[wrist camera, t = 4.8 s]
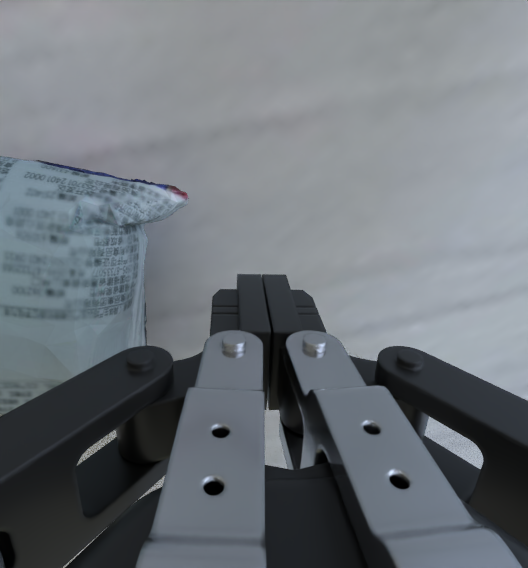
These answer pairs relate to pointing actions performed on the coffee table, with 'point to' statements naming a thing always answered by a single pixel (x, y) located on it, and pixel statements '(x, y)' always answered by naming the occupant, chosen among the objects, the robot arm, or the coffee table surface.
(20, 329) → the packaged food
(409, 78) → the coffee table surface
